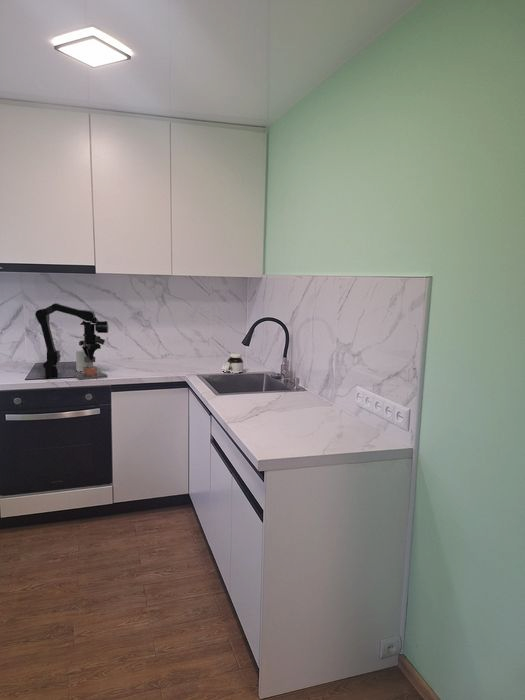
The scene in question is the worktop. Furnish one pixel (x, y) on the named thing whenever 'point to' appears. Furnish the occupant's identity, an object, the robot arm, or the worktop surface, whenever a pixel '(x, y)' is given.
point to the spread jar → (233, 363)
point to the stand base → (89, 374)
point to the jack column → (89, 361)
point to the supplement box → (80, 360)
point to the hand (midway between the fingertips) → (89, 359)
